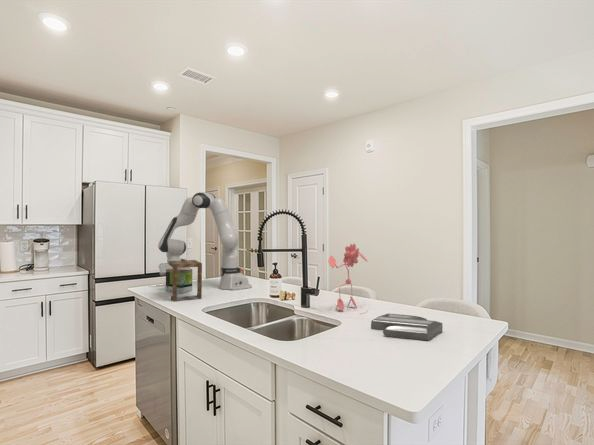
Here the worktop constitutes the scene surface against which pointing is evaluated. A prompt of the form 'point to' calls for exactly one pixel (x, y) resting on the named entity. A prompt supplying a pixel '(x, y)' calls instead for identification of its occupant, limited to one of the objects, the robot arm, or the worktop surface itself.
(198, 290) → the walnut shelf
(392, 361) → the worktop surface
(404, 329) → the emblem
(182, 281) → the tea box
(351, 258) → the pink flower figurine
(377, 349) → the worktop surface
